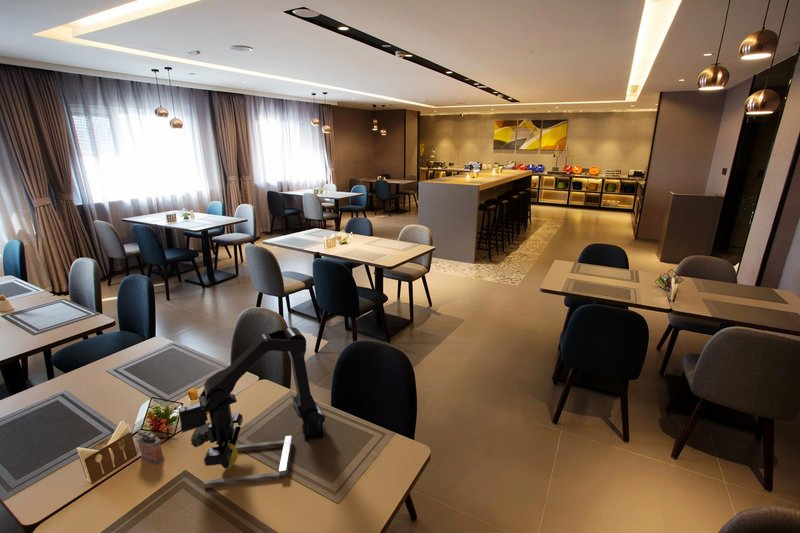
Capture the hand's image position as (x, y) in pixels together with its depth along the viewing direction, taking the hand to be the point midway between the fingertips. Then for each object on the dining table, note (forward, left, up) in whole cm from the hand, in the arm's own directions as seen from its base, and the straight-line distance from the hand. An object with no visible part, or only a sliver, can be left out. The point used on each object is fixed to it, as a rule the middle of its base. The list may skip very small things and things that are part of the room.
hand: (228, 460), depth 119 cm
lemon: (0, 0, -2) cm, 2 cm away
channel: (-6, 0, -2) cm, 7 cm away
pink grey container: (+25, -7, -3) cm, 26 cm away
